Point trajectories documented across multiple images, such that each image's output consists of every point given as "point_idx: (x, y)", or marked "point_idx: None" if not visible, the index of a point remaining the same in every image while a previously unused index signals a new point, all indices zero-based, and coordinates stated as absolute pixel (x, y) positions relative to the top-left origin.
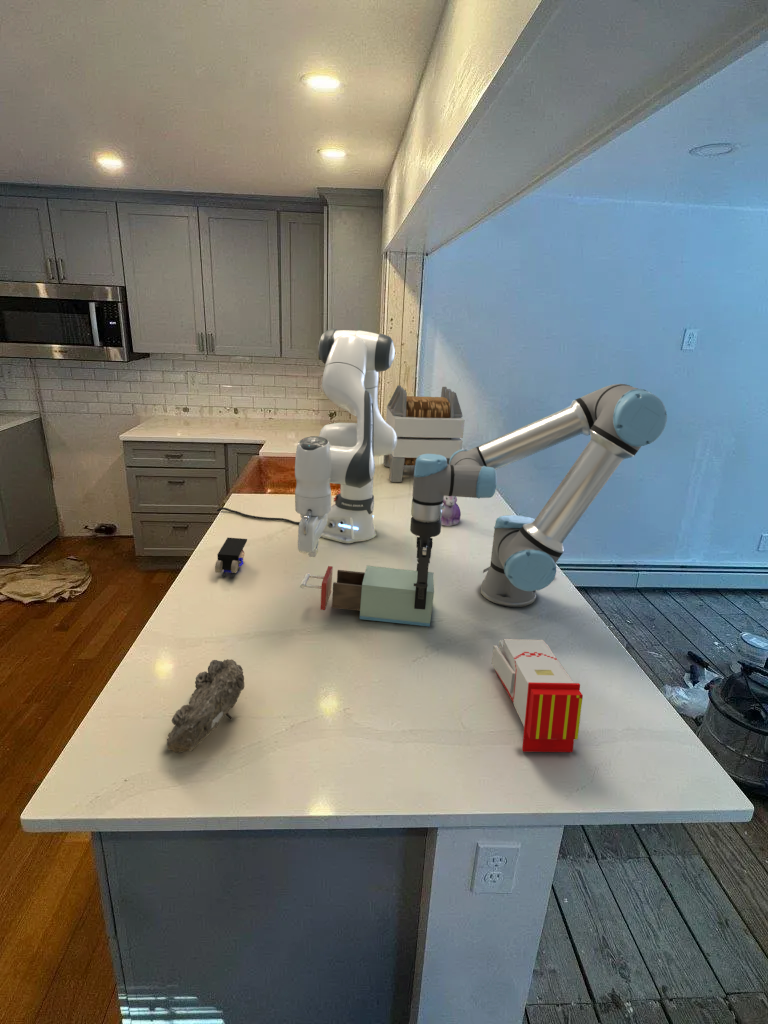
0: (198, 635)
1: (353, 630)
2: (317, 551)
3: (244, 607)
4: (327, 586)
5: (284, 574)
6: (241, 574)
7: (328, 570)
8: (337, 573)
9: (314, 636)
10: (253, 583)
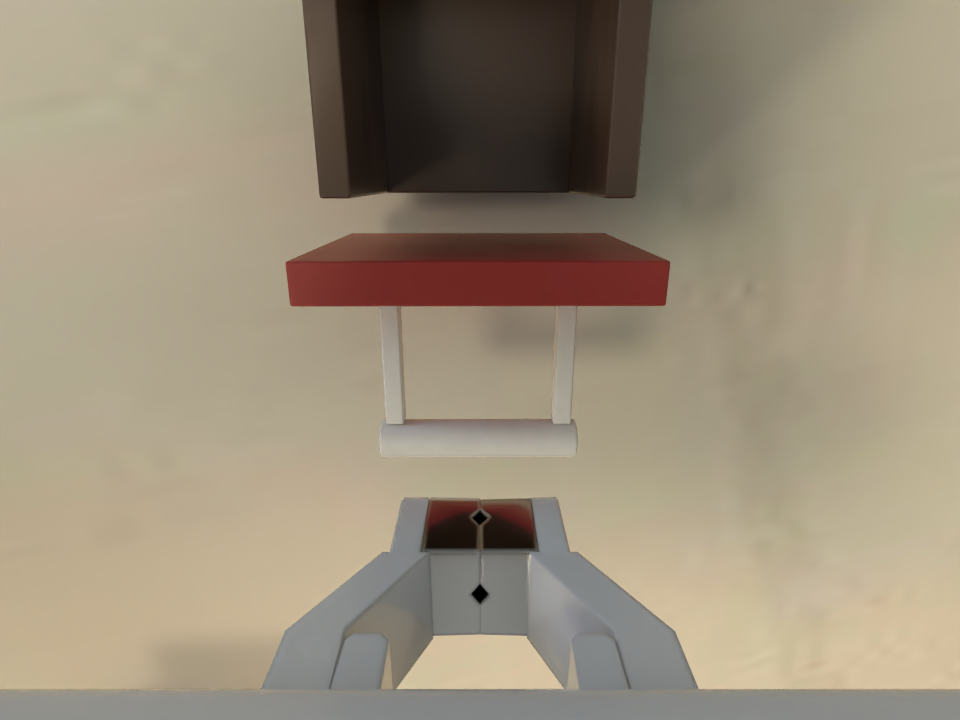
0: None
1: (746, 10)
2: (415, 505)
3: None
4: (572, 251)
5: (150, 533)
6: None
7: (390, 287)
8: (355, 195)
9: (802, 249)
10: None
